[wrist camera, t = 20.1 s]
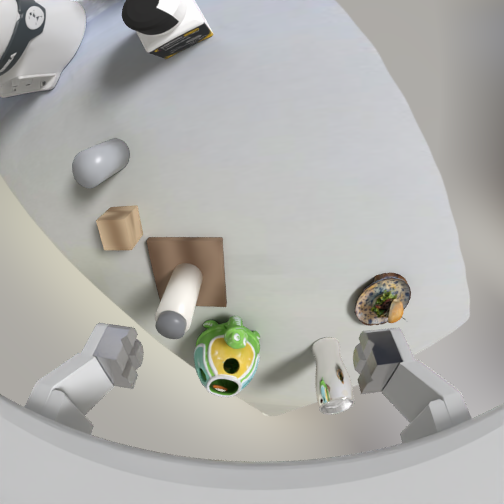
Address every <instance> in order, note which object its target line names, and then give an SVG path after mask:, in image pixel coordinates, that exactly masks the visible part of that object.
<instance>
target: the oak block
mask: <svg viewBox="0 0 504 504" xmlns="http://www.w3.org/2000/svg"><path fill="white" fill-rule="evenodd" d="M96 222H97V226H98V230H99V233H100V237H101V241H102V244H103V248H104V250H132V249H133V248H134V246H135V245H136V244H137V242H138V241H139V239H140V238H141V237H142V235H143V231H142V226H141V221H140V216H139V211H138V206H123V207H110V208H109V209H108V210H107V211H106V212H105V213H104V214H103V215H102V216H101V217H100V218H98V219H97V220H96Z"/></svg>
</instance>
